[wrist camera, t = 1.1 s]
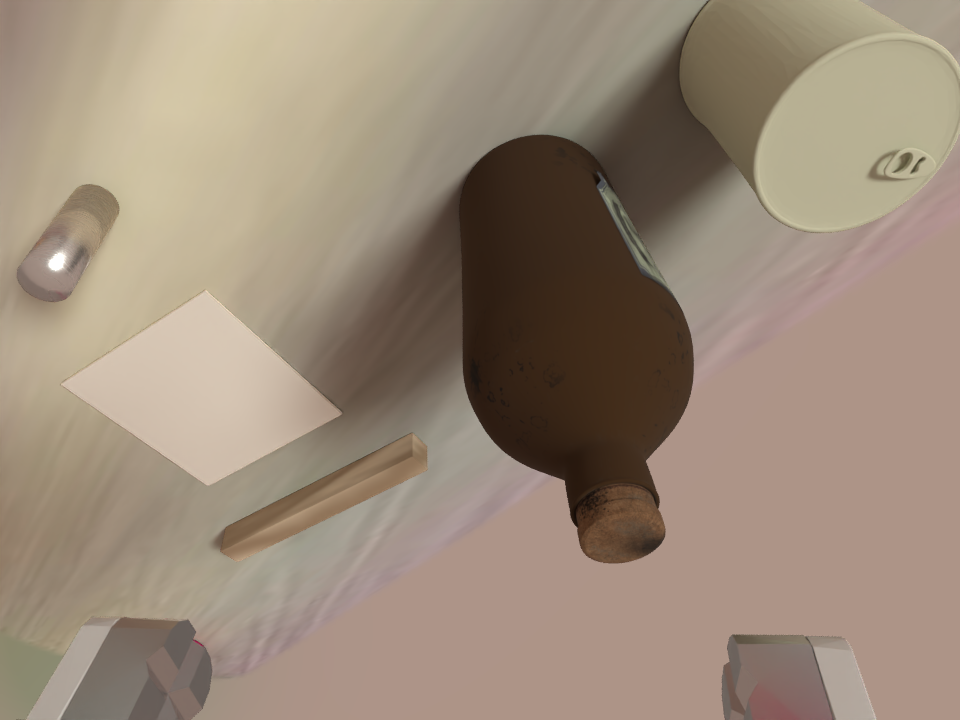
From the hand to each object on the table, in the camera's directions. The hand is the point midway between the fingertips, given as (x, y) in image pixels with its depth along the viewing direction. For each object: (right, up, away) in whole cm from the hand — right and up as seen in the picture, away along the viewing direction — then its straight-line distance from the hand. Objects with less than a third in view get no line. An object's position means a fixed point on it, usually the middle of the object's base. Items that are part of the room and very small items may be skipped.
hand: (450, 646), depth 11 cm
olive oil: (+4, +14, +35) cm, 38 cm away
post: (-22, +14, +32) cm, 42 cm away
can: (+16, +21, +30) cm, 40 cm away
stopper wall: (-13, -7, +50) cm, 53 cm away
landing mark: (-20, +1, +43) cm, 47 cm away
